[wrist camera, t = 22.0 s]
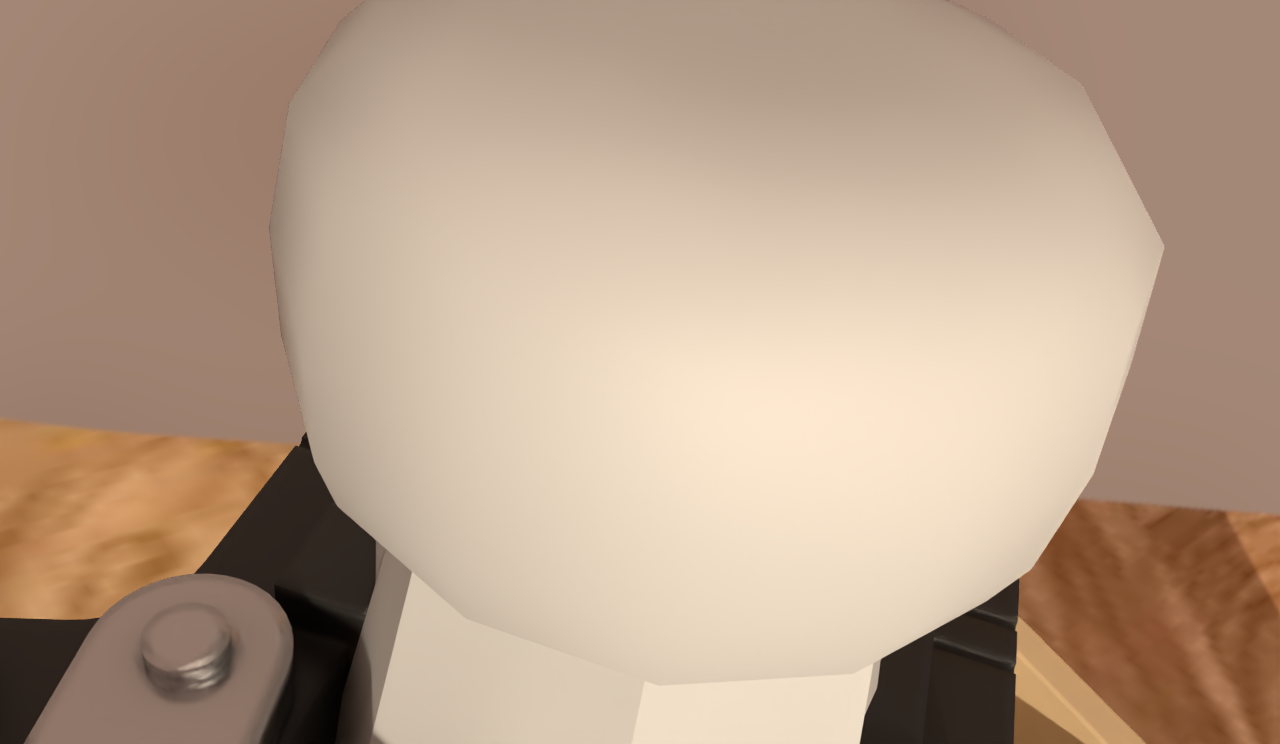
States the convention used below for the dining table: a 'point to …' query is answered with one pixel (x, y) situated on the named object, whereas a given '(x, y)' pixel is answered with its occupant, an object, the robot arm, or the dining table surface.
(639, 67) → the salt shaker
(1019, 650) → the drawer
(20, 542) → the dining table surface
